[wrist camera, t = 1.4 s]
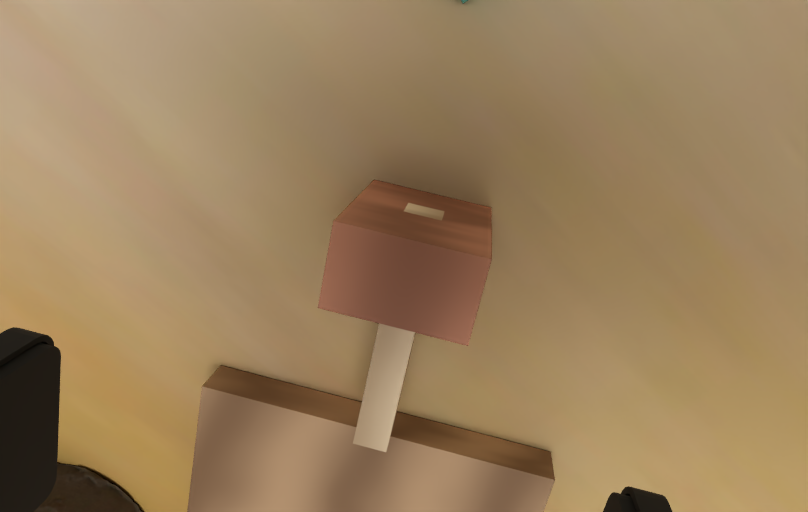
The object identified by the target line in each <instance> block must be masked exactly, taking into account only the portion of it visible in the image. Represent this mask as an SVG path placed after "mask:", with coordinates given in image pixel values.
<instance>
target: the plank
mask: <svg viewBox="0 0 808 512" xmlns="http://www.w3.org/2000/svg"><path fill="white" fill-rule="evenodd" d="M361 404H362V402H358V401H354V400H351V399H347V398H343V397H339V396H335V395H332V394H328V393H324V392H320V391H316V390H313V389H309V388H305V387H301V386H297V385H294V384H290V383H286V382H282V381H278V380H275V379H271V378H267V377H263V376H259V375H256V374H252V373H248V372H244V371H240V370H237V369H233V368H229V367H225V366H220V367H219V368H218V369H217V370H216V371H215V372H214V374H213V375H212V376H211V377H210V378H209V379H208V380H207V381H206V383H205V384H204V385H203V386H202V391H201V400H200V409H199V417H198V426H197V434H196V443H195V451H194V460H193V468H192V477H191V485H190V494H189V502H188V511H187V512H544V509H545V506H546V504H547V501H548V498H549V495H550V492H551V490H552V487H553V484H554V481H555V477H554V471H553V464H552V458H551V452H549V451H545V450H541V449H537V448H533V447H530V446H526V445H522V444H518V443H514V442H511V441H507V440H503V439H499V438H495V437H491V436H488V435H484V434H480V433H476V432H472V431H469V430H465V429H461V428H457V427H453V426H450V425H446V424H442V423H438V422H434V421H431V420H427V419H423V418H419V417H415V416H412V415H408V414H404V413H400V412H396V416H395V420H394V424H393V428H392V432H391V436H390V440H389V443H388V447H387V451H386V452H383V451H379V450H375V449H372V448H368V447H364V446H360V445H357V444H353V441H354V436H355V432H356V427H357V422H358V418H359V413H360V409H361Z"/></svg>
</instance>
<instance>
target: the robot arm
mask: <svg viewBox="0 0 808 512" xmlns="http://www.w3.org/2000/svg"><path fill="white" fill-rule="evenodd" d="M60 364H61V354H60V350H59V349H58V348H57V347H55V346H54V342H53V340H52V338H51V337H49V336H48V335H44V334H40V333H36V332H32V331H29V330H25V329H21V328H10V329H8V330H6V331H4V332H2V333H0V512H34V511H35V510H36V509H37V508H38V507H39V506H40V505H41V504H42V503H43V502H44V501H45V500H46V499H47V497H48V496H49V495H50V493H51V491H52V489H53V487H54V485H55V482H56V477H57V454H58V424H59V394H60ZM603 512H672V510H671V507H670V505H669V503H668V501H667V499H666V497H664V496H663V495H660V494H656V493H652V492H648V491H644V490H641V489H637V488H633V487H625V488H624V490H623V491H622V493H621V494H619V493H615V492H614V493H612V494H611V495H610V496H609V498H608V501H607V503H606V506H605V508H604V511H603Z"/></svg>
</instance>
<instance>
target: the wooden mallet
mask: <svg viewBox="0 0 808 512" xmlns="http://www.w3.org/2000/svg"><path fill="white" fill-rule="evenodd" d="M491 260H492V224H491V207H487V206H482V205H478V204H474V203H470V202H466V201H461V200H457V199H453V198H449V197H445V196H440V195H436V194H432V193H428V192H424V191H420V190H415V189H411V188H407V187H403V186H399V185H394V184H390V183H386V182H382V181H378V180H373V181H372V182H371V183H370V185H369V186H368V187H367V188H366V189H365V190H364V191H363V192H362V193H361V194H360V195H359V196H358V197H357V198H356V199H355V200H354V201H353V202H352V203H351V204H350V205H349V206H348V207H347V208H346V209H345V210H344V211H343V212H342V213H341V214H340V215H339V216H338V217H337V218H336V219H335V220H334V221H333V226H332V232H331V237H330V243H329V248H328V254H327V260H326V265H325V271H324V276H323V282H322V287H321V293H320V299H319V304H318V308H320V309H324V310H328V311H332V312H336V313H340V314H344V315H348V316H352V317H356V318H360V319H364V320H368V321H372V322H376V323H379V326H378V331H377V335H376V340H375V344H374V349H373V354H372V358H371V363H370V367H369V372H368V377H367V381H366V386H365V390H364V395H363V400H362V404H361V409H360V413H359V418H358V422H357V427H356V432H355V436H354V441H353V444H357V445H360V446H364V447H368V448H372V449H375V450H379V451H383V452H386V451H387V447H388V443H389V440H390V436H391V432H392V428H393V424H394V420H395V416H396V411H397V407H398V403H399V399H400V395H401V391H402V387H403V382H404V378H405V374H406V370H407V366H408V362H409V357H410V353H411V349H412V345H413V341H414V337H415V333H419V334H423V335H427V336H431V337H435V338H439V339H443V340H447V341H451V342H455V343H458V344H462V345H466V346H468V344H469V340H470V337H471V333H472V329H473V326H474V322H475V318H476V315H477V311H478V307H479V304H480V300H481V296H482V293H483V289H484V285H485V282H486V278H487V275H488V271H489V267H490V264H491Z"/></svg>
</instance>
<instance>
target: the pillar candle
mask: <svg viewBox="0 0 808 512" xmlns="http://www.w3.org/2000/svg"><path fill="white" fill-rule="evenodd" d="M34 512H141V510H140V509H139V506H138V505H137V504H135V503H134V502H133V500H132V499H130V497H129V496H127V495H126V494H125V493H124V492H123V491H122V490H121V489H119V488H118V487H117V486H116V485H114V484H111V483H110V482H108V481H107V480H104V479H103V478H101V477H100V476H99V475H97V474H96V473H94V472H91V471H90V470H87V469H86V468H82V467H77V466H74V465H68V464H67V465H66V464H57V477H56V482H55V485H54V487H53V489H52V491H51V493H50V495H49V496H48V497H47V499H46V500H45V501H44V502H43V503H42V504H41V505H40V506H39V507H38V508H37V509H36V510H35V511H34Z"/></svg>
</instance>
